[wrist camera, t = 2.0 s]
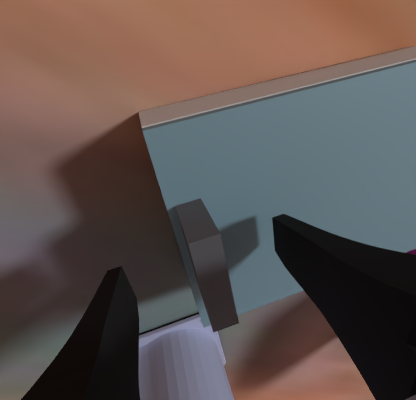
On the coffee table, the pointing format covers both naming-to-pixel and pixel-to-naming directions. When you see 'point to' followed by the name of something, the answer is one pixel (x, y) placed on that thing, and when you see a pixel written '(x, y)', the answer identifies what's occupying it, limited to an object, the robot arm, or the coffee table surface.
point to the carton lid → (287, 181)
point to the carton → (274, 87)
